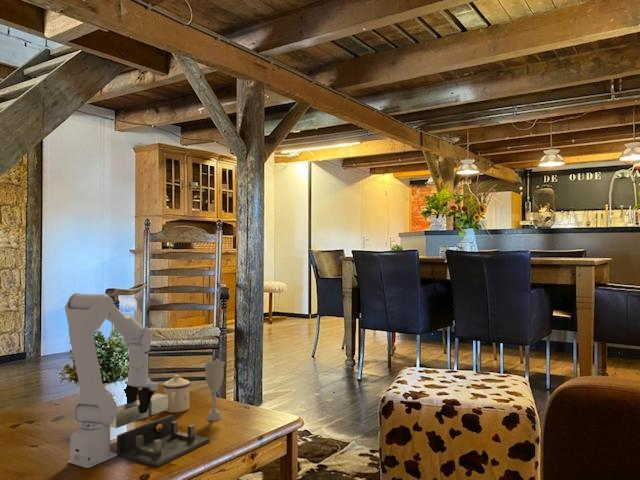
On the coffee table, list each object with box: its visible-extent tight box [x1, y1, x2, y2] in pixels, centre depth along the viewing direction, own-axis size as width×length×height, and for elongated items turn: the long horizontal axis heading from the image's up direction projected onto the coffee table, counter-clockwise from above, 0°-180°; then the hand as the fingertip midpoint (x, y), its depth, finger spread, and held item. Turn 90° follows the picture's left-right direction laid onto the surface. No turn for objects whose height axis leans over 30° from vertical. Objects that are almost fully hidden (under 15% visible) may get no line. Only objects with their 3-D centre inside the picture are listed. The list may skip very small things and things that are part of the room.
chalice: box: [203, 360, 226, 422], centre depth 174 cm, size 7×7×18 cm
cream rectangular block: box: [110, 393, 168, 429], centre depth 160 cm, size 20×4×4 cm, turn 151°
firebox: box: [116, 414, 210, 468], centre depth 148 cm, size 20×15×6 cm
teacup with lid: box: [162, 374, 191, 413], centre depth 182 cm, size 12×9×12 cm
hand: (138, 411), depth 160 cm, fingers closed on cream rectangular block, 4 cm apart
